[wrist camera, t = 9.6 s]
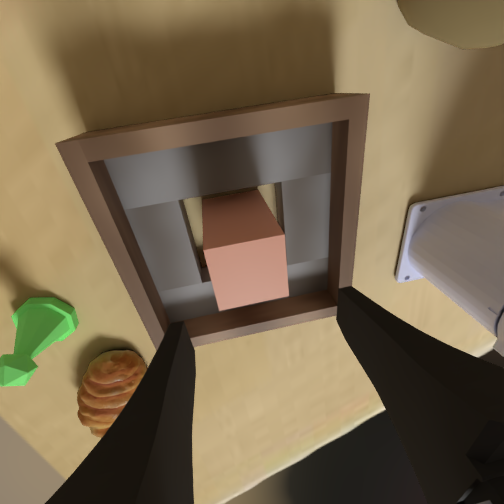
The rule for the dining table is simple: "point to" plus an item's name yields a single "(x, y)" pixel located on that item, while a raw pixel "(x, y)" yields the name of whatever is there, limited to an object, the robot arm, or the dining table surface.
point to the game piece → (35, 336)
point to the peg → (244, 250)
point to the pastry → (108, 388)
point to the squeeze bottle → (457, 21)
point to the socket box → (221, 180)
